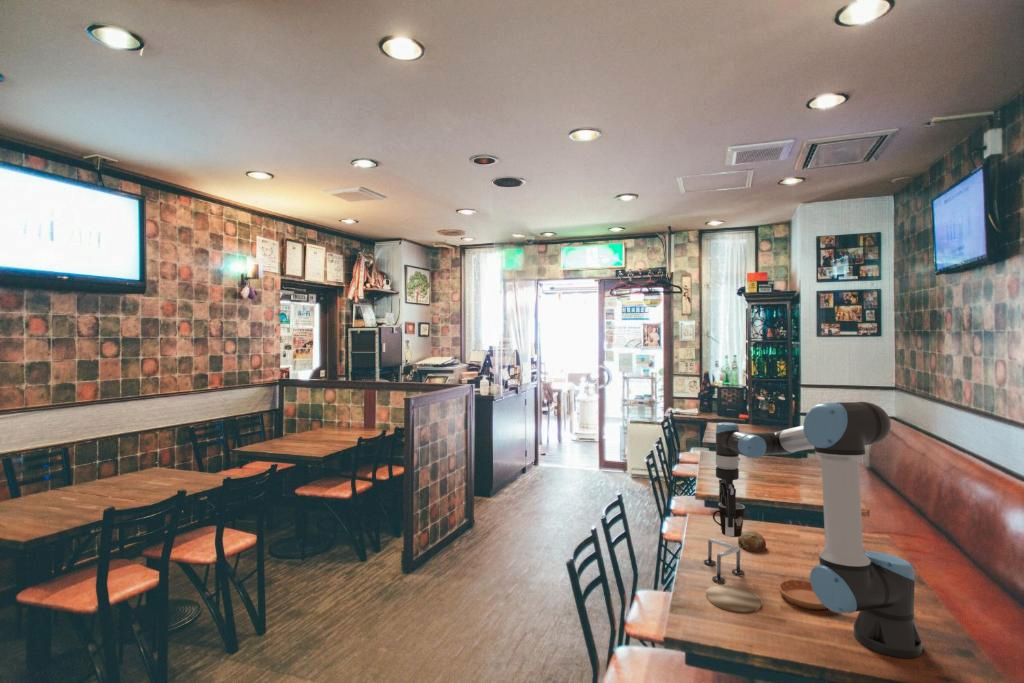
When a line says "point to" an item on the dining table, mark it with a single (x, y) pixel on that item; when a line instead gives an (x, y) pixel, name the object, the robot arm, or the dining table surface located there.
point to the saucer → (800, 594)
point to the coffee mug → (737, 521)
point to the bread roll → (751, 541)
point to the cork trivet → (733, 598)
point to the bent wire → (711, 562)
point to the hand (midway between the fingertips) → (727, 532)
